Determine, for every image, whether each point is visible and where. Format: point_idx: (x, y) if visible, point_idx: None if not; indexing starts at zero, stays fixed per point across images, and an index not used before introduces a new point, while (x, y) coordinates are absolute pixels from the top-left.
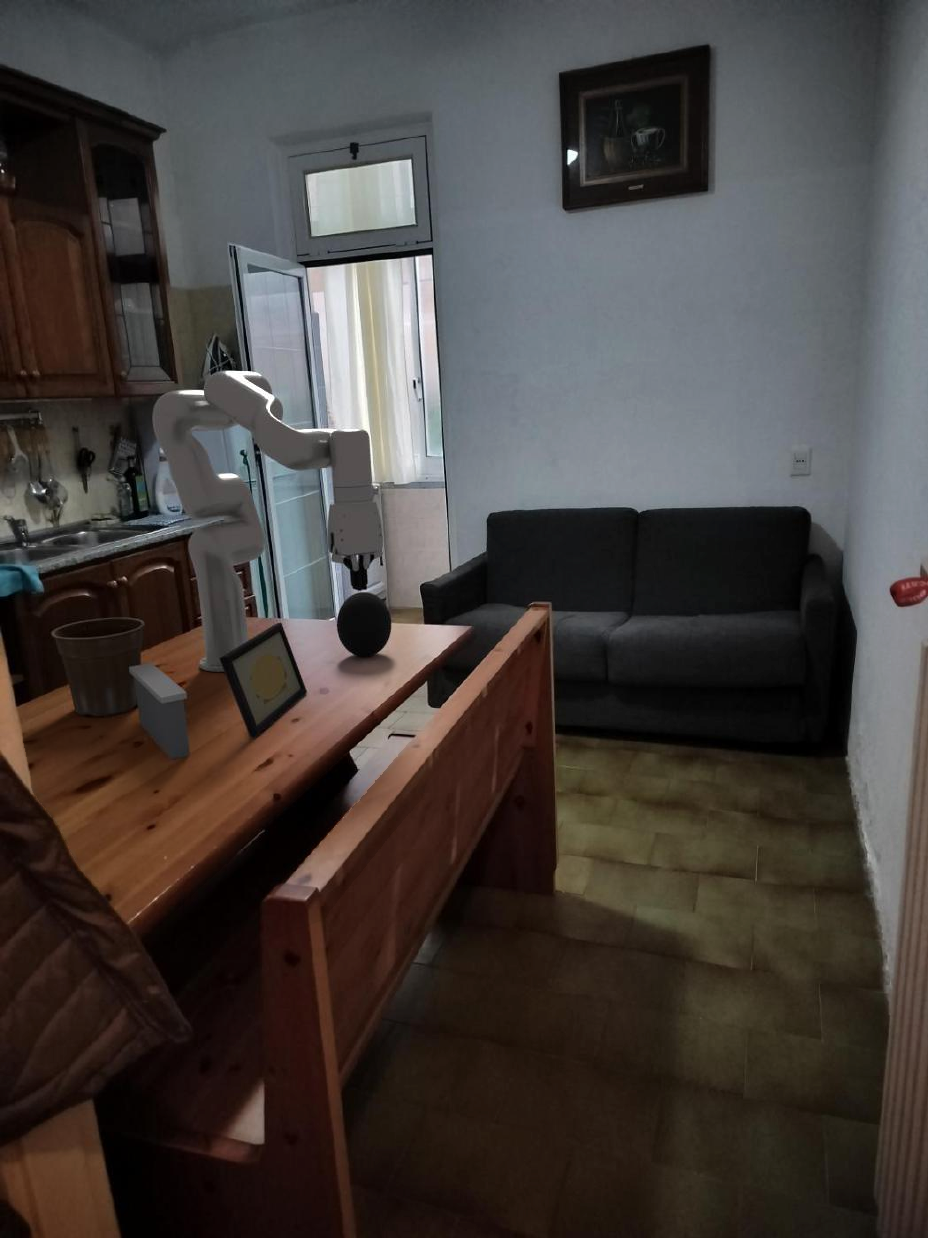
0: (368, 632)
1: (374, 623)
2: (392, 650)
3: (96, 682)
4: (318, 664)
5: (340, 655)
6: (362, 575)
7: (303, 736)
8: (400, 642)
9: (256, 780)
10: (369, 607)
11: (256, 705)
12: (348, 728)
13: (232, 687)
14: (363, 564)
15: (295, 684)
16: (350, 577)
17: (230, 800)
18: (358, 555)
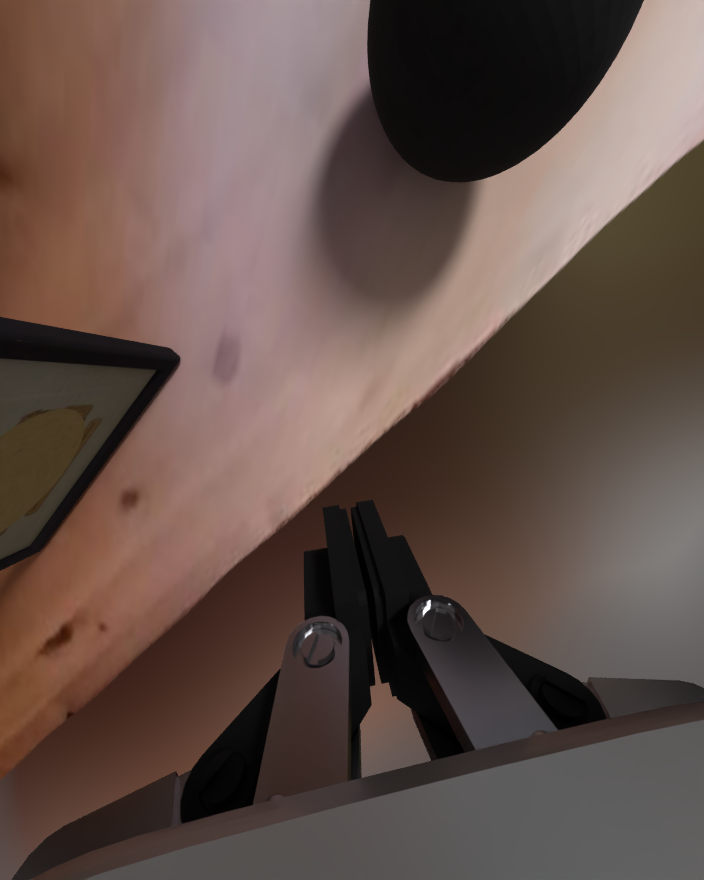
0: (445, 170)
1: (486, 160)
2: None
3: None
4: (273, 89)
5: None
6: (374, 652)
7: (134, 572)
8: None
9: (42, 678)
10: (524, 83)
11: (6, 541)
12: (218, 571)
13: None
14: (420, 726)
15: (134, 383)
16: (304, 589)
17: (3, 713)
18: (468, 738)
